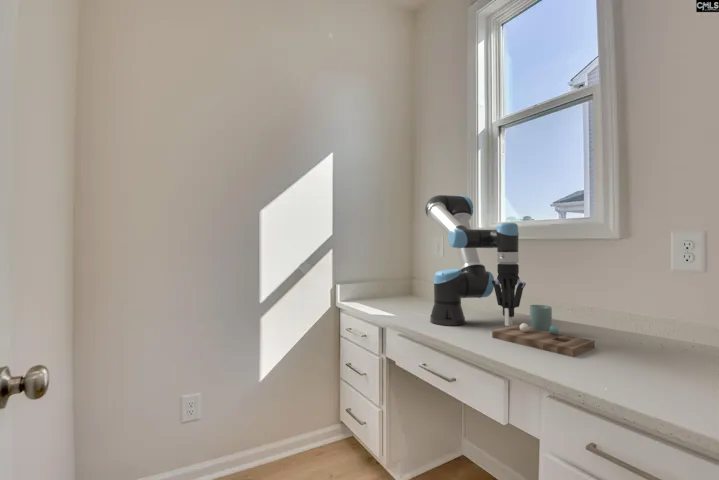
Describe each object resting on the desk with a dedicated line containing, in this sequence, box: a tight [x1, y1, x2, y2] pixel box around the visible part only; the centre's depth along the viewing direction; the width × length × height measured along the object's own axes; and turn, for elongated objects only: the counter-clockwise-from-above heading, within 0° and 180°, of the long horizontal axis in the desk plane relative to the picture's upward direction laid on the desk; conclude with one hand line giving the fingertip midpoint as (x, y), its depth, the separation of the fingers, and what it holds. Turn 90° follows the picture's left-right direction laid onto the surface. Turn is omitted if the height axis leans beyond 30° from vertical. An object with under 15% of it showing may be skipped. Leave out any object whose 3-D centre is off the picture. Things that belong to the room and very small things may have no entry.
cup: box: [529, 304, 553, 332], centre depth 141 cm, size 8×8×10 cm
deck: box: [491, 324, 596, 358], centre depth 125 cm, size 28×16×2 cm, turn 36°
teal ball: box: [549, 324, 560, 334], centre depth 126 cm, size 3×3×3 cm
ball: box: [519, 322, 530, 332], centre depth 130 cm, size 3×3×3 cm
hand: (508, 325), depth 135 cm, fingers closed
